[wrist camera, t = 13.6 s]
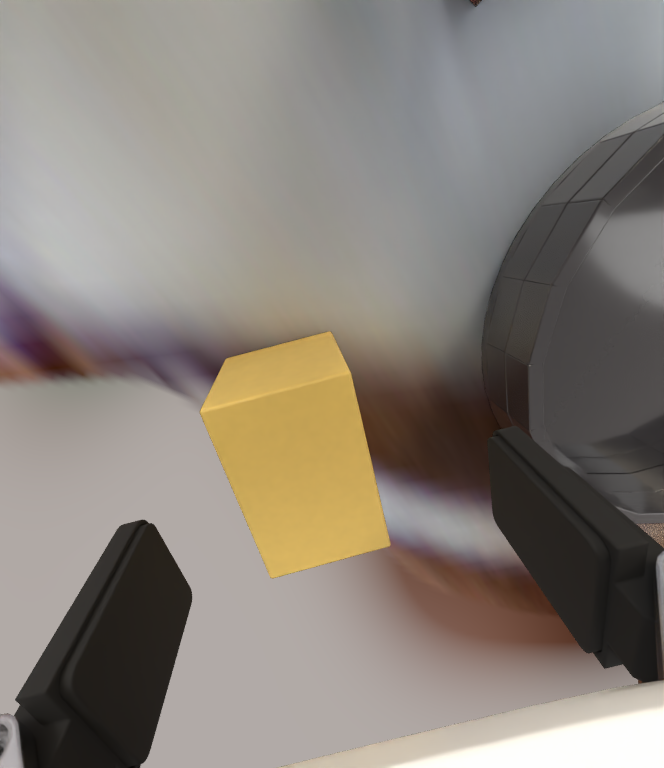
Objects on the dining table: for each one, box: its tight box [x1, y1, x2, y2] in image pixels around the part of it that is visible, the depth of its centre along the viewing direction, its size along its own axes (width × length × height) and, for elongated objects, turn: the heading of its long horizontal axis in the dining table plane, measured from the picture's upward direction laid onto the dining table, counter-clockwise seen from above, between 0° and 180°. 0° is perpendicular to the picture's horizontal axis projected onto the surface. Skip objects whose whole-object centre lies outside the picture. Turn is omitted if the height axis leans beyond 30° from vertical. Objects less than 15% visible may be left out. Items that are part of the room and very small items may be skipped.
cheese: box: [200, 331, 390, 578], centre depth 14 cm, size 4×7×5 cm, turn 13°
